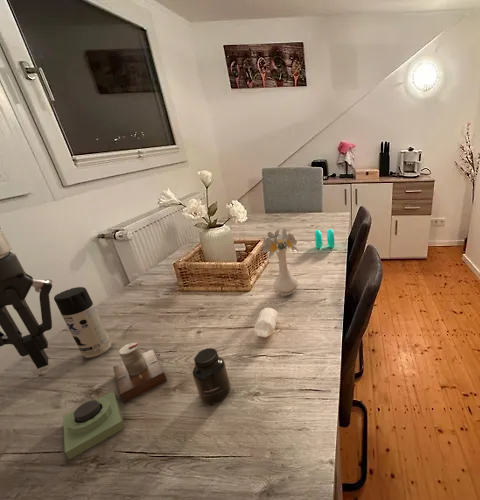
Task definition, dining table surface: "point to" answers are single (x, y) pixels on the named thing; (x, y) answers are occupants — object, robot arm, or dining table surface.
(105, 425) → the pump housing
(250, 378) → the dining table surface
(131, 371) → the dial knob
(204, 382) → the supplement bottle
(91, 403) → the button
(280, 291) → the flower vase
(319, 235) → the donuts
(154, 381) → the dial panel
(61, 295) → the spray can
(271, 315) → the roll
